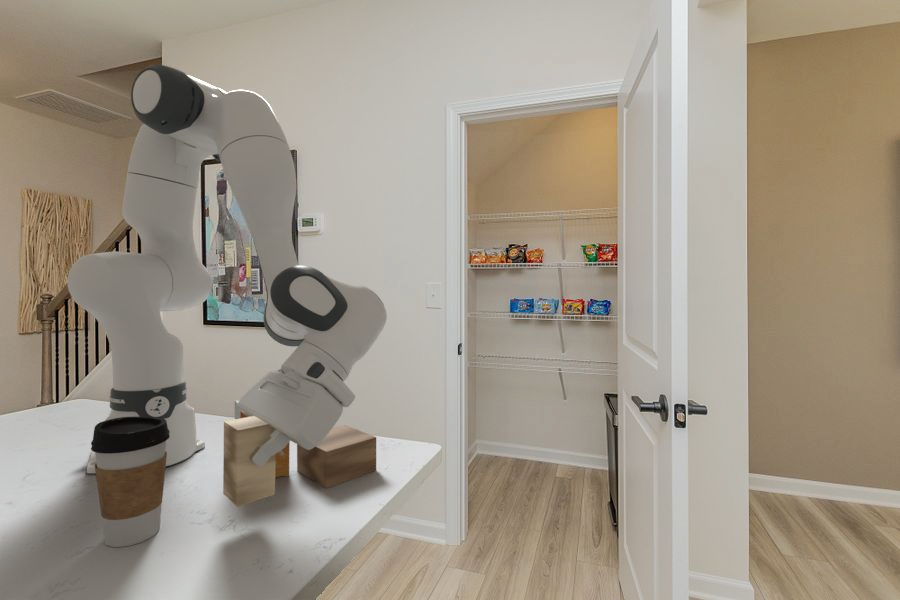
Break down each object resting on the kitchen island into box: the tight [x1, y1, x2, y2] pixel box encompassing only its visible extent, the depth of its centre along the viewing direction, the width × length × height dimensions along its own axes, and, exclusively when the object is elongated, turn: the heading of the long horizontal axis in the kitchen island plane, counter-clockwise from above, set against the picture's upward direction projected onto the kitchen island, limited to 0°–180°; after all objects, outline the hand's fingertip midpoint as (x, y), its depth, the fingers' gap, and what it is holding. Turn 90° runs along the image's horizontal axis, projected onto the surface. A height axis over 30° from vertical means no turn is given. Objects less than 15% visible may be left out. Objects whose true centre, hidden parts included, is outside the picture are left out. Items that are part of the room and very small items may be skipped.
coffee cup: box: [90, 417, 170, 548], centre depth 58 cm, size 8×8×15 cm
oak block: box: [222, 416, 276, 508], centre depth 61 cm, size 5×5×10 cm
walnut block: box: [296, 424, 377, 489], centre depth 79 cm, size 10×10×6 cm
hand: (244, 456), depth 60 cm, fingers closed on oak block, 5 cm apart
